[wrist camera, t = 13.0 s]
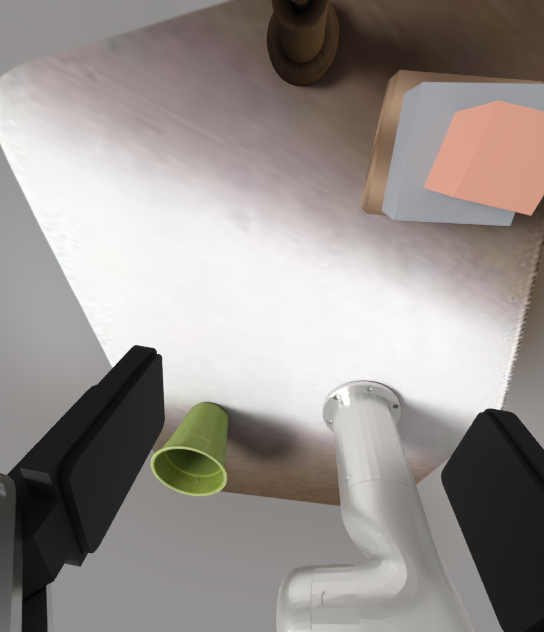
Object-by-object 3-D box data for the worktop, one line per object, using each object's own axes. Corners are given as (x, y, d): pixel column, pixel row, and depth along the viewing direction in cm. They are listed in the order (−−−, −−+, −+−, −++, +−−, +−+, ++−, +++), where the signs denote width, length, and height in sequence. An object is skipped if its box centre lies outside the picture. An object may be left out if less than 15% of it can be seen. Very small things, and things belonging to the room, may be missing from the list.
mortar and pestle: (325, -17, 27) (349, -245, 12) (345, 66, 30) (387, -28, 14) (258, 23, 29) (201, -128, 13) (283, 98, 32) (259, 46, 16)
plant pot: (166, 399, 55) (135, 453, 45) (225, 386, 52) (205, 441, 42) (195, 442, 60) (173, 500, 50) (251, 433, 57) (239, 492, 47)
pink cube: (485, 202, 26) (531, 215, 21) (423, 187, 26) (453, 196, 21) (524, 128, 23) (588, 122, 18) (455, 112, 23) (498, 100, 18)
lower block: (462, 216, 36) (483, 225, 31) (359, 206, 36) (366, 213, 32) (509, 92, 30) (543, 81, 26) (386, 81, 31) (399, 69, 26)
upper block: (481, 215, 31) (509, 226, 27) (381, 210, 32) (393, 220, 27) (523, 95, 26) (566, 84, 22) (404, 93, 27) (422, 81, 23)
